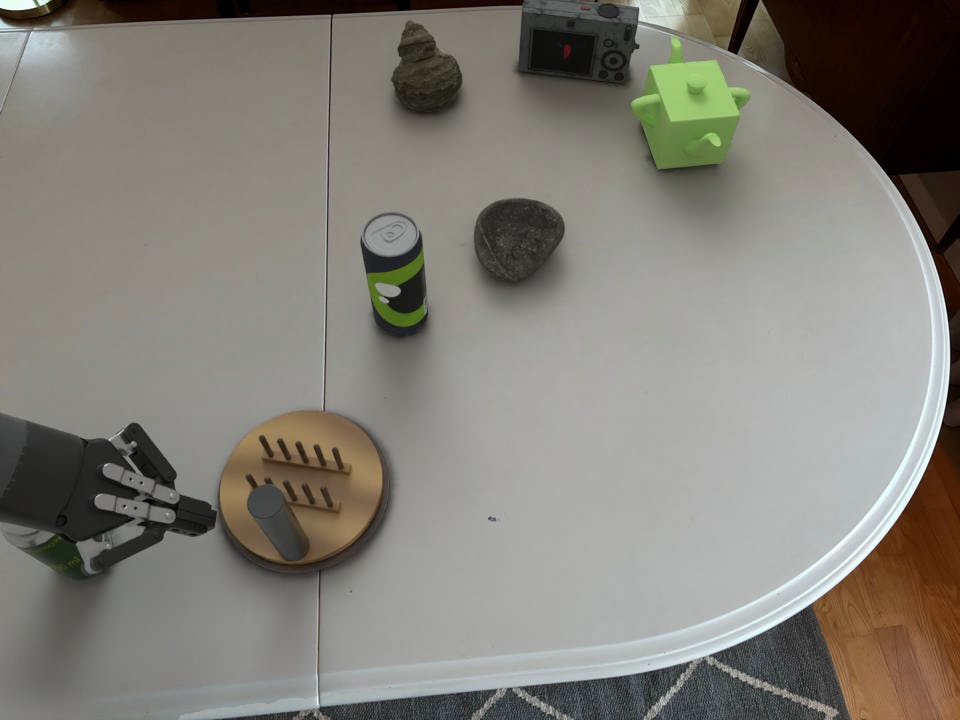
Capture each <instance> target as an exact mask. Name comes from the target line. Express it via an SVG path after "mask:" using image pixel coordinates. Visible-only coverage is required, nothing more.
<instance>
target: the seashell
mask: <svg viewBox="0 0 960 720" xmlns="http://www.w3.org/2000/svg"><path fill="white" fill-rule="evenodd" d="M396 49H397V53H398V57H399V58H400V61H399V63H398V65H396V67H395V68H394V69H393V71H392V76H391V77H390V81H391V83H392V86H393V88H394V93H395V94H396V95H397V97H398V99H399V100H400V101H401V102H402V104H404V105H405V106H406V107H407V108H410V109H412V110H414V111H421V112H424V113H426V112H430V113H431V112H437V111H439V110H442V109H443V108H446V107H448V106H449V105H450V104H452V103H453V102H454V101H455V99H456V96H457V95H458V92H459V90H460V88H462V85H463V74H462V71H461V67H460V65H459V63H458V60H457V59H456V57H454V56H453V54H450V53H446V52H443V51H442V50H441V49H440V48H439V47H438V46H437V41H436V40H435V37H434V36H433V35H432V34H431V33H429V31H428V30H427V29H426V28H425V26H424V25H423V24H421V23H419V22H415V21H413V20H411V19H408V20H406V22H405V24H404V29H403V31H402V32H401V36H400V41H399V44H398V46H397V48H396ZM454 114H455V112H454Z"/></svg>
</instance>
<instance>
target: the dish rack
mask: <svg viewBox="0 0 960 720" xmlns="http://www.w3.org/2000/svg"><path fill="white" fill-rule="evenodd" d="M336 414H337V413H332V412H329V411H324V410H314V409H311V410H310V409H309V410H304V409H303V410H298V411H292V412H288V413H287V412H286V413H283V414H280V415H277V416H274V417H272V418H271V419H269V420H267V421H264V422H263V423H261V424H260V425H258V426H257V427H255V428H254V429H253V430H252V431H250V432H249V433H248V434H247V435H246V436H245V437H243V439H242V440H241V441H240V442H239V443H238V444H237V446H236V447H235V448H234V450H233V451H232V453H231V455H230V456H229V458H228V459H227V462H226V464H225V467H224V469H223V471H224V472H223V471H222V474H223V476H222V475H221V477H222V479H221V478H220V481H221V486H220V503H221V509H222V513H223V516H224V519H225V521H226V523H227V526H228V528H229V529H230V531H231V532H232V534H233V535H234V536H235V537H236V539H237V540H238V541H239V542H240V543H241V544H242V545H243V546H244V547H245V548H246V549H248V550H249V551H250V552H252V553H253V554H255V555H257V556H259V557H261V558H263V559H266V560H268V561H271V562H275V563H279V564H288V565H301V564H308V563H314V562H317V561H321V560H324V559H326V558H329V557H331V556H334V555H335V554H337V553H339V552H341V551H342V550H344V549H345V548H347V547H348V546H349V545H351V544H352V543H353V542H354V541H355V540H357V539H358V538H359V537H360V536H361V535H362V533H363V532H364V531H365V530H366V529H367V527H368V526H369V524H370V523H371V521H372V520H373V518H374V516H375V514H376V512H377V510H378V507H379V504H380V501H381V496H382V491H383V472H382V467H381V462H380V458H379V455H378V453H377V451H376V448H375V446H374V445H373V443H372V441H371V440H370V439H369V437H368V436H367V435H366V434H365V433H364V432H363V431H362V430H361V429H360V428H359V427H358V426H357V425H355V424H354V423H352V422H351V421H352V420H351V421H349V420H350V419H349V420H347V419H348V418H347V419H345V418H346V417H345V418H343V417H344V416H342V415H339V414H337V415H336ZM338 415H339V416H338ZM341 416H342V417H341Z"/></svg>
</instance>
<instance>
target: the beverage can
mask: <svg viewBox="0 0 960 720" xmlns="http://www.w3.org/2000/svg"><path fill="white" fill-rule="evenodd" d="M359 242H360V243H359V244H360V250H361V255H362V260H363V265H364V271H365V275H366V280H367V281H366V282H367V286H368V290H369V297H370V302H371V303H370V304H371V307H372V313H373V318H374V322H375V323H376V325H377V327H378V328H379V329H380V330H381V331H383V332H385V333H386V334H388V335H392V336H397V337H398V336H399V337H403V336H408V335H412V334H414V333H416V332H418V331H419V330H420V329H422V327H423V326H424V325H425V324H426V322H427V320H428V318H429V304H428V303H429V302H428V292H427V280H426V266H425V253H424V242H423V234H422V231H421V230H420V228H419V226H418V223H417V221H416V220H415V219H414V218H413V217H411V215H409V214H406V213H404V212H401V211H396V210H388V211H382V212H379V213H377V214H374V215H373V216H371V217H370V218H368V220H367V221H366V222H365V223H364V225H363V227H362V229H361V235H360V240H359Z"/></svg>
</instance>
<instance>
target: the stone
mask: <svg viewBox="0 0 960 720" xmlns="http://www.w3.org/2000/svg"><path fill="white" fill-rule="evenodd" d="M565 224H566V223H565V221H564V218H563V217H562V215H561V214H560V212H559V211H558V210H557V209H556V208H554V207H553V206H551V205H549V204H548V203H545V202H542V201H540V200H537V199H532V198H526V197H525V198H524V197H513V198H512V197H511V198H504V199H500V200H496V201H494V202H492V203H490V204H488V205H487V206H486V207H484V208H483V209H482V210H481V211H480V212H479V214H478V216H477V218H476V220H475V225H474V231H473V245H474V251H475V255H476V257H477V260H478V261H479V263H480V265H481V266H482V267H483V269H484V270H485V271H486V272H487V273H488V274H490V275H491V276H493V277H495V278H497V279H498V280H502V281H505V282H509V283H510V282H511V283H519V282H522V281H524V280H526V279H527V278H529V277H530V276H532V275H533V274H534V273H535V272H536V271H538V270H539V269H540V268H541V267H542V266H543V265H544V264H545V262H546V261H547V260H549V258H550V256H551V255H552V254H553V252H554V251H555V250H556V249H557V247H558V246H559V245H560V243H561V242H562V240H563V238H564V235H565V230H566V225H565Z"/></svg>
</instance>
